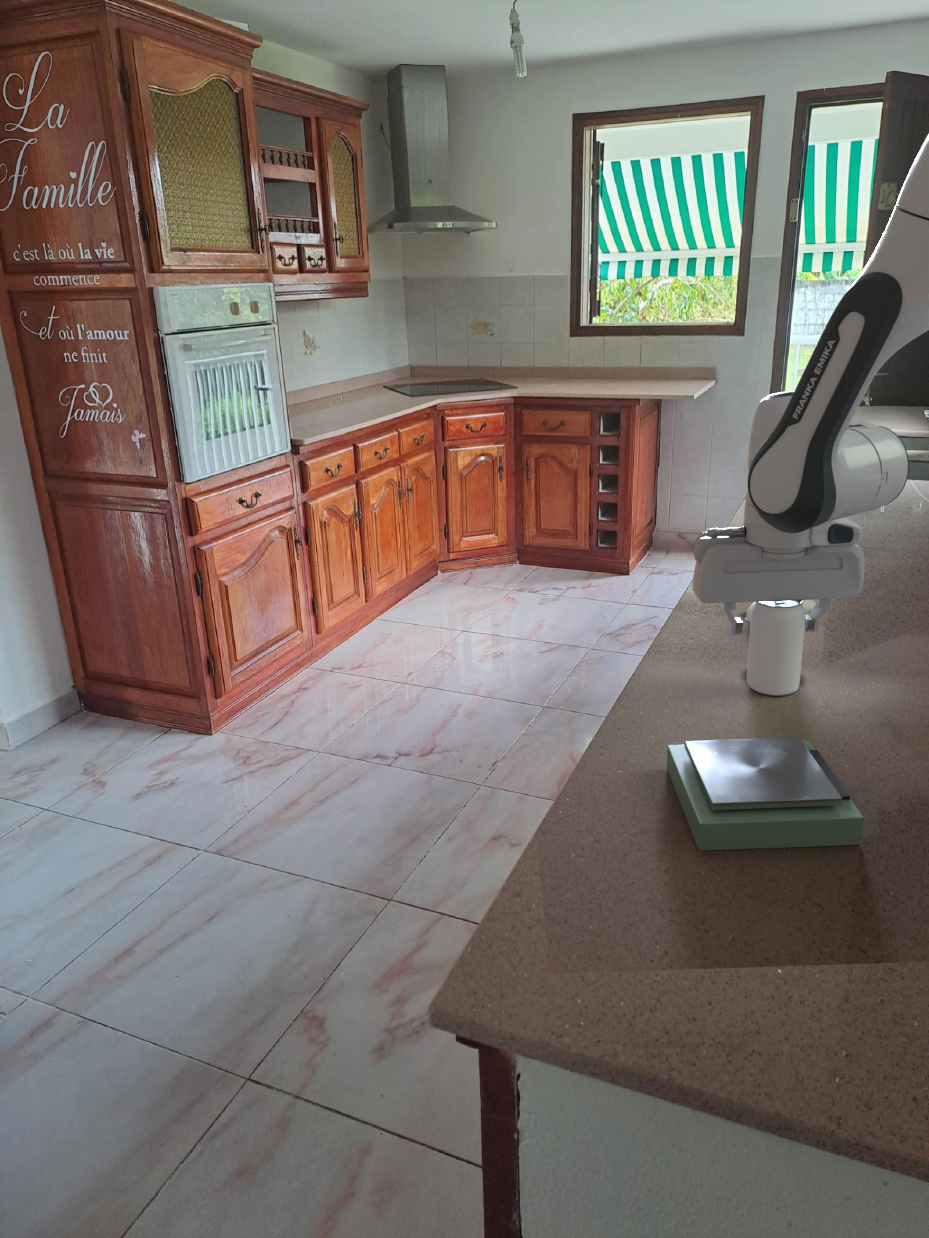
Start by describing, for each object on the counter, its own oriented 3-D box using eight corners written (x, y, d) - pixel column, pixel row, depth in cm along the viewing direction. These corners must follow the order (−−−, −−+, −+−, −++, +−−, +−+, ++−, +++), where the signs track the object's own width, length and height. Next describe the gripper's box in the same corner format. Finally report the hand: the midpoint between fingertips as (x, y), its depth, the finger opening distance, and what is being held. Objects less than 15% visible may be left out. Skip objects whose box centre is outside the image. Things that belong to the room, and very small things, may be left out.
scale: (805, 763, 96) (807, 735, 95) (860, 845, 82) (864, 813, 81) (666, 769, 96) (667, 741, 95) (698, 851, 82) (699, 820, 81)
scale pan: (798, 743, 93) (798, 736, 93) (841, 805, 82) (842, 798, 82) (684, 747, 94) (684, 741, 93) (712, 810, 82) (712, 803, 82)
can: (756, 698, 111) (762, 609, 107) (739, 677, 117) (744, 592, 113) (807, 695, 111) (815, 606, 107) (787, 674, 117) (794, 589, 113)
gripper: (701, 536, 104) (695, 644, 109) (876, 529, 103) (862, 638, 108) (689, 522, 109) (684, 625, 114) (854, 515, 109) (842, 619, 114)
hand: (772, 631), depth 111 cm, fingers open, 8 cm apart
